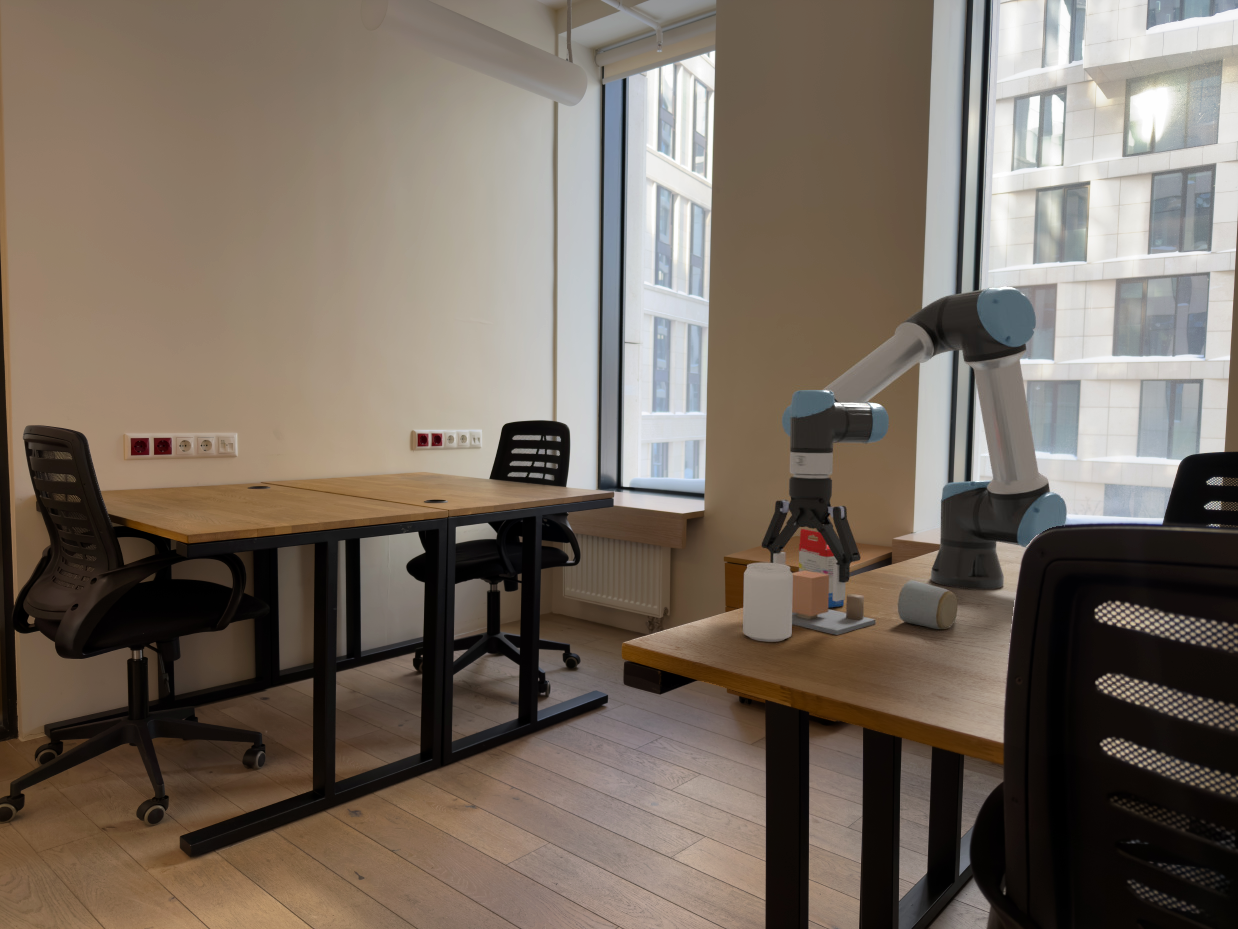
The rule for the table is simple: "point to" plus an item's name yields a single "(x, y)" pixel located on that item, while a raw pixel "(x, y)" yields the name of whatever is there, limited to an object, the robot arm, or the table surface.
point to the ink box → (817, 559)
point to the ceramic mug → (927, 605)
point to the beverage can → (767, 602)
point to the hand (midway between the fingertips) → (807, 593)
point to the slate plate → (838, 618)
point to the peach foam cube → (810, 593)
